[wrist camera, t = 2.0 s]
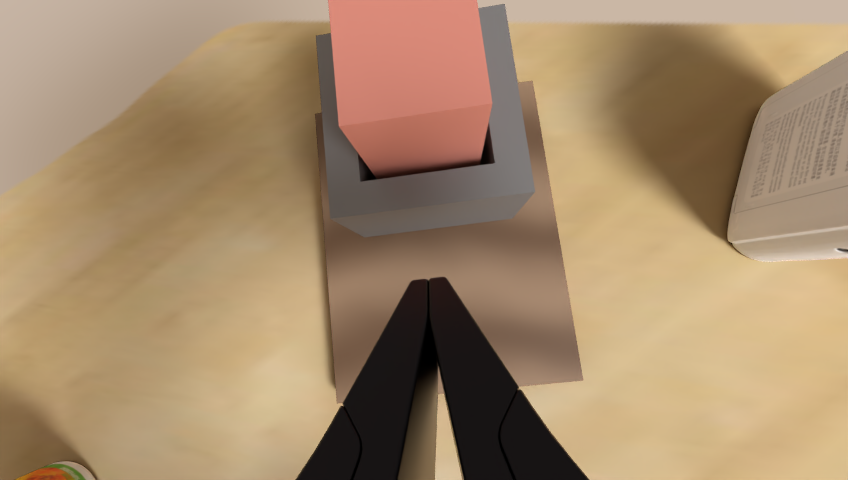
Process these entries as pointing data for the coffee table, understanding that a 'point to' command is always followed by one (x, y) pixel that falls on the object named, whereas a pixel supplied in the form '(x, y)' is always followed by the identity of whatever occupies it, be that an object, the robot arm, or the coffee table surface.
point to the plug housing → (441, 190)
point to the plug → (411, 83)
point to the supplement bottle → (59, 472)
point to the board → (460, 278)
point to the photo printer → (796, 172)
